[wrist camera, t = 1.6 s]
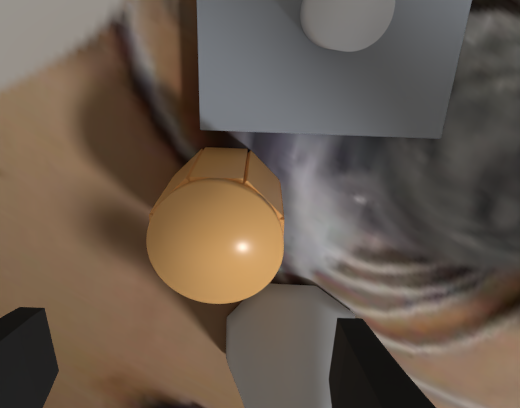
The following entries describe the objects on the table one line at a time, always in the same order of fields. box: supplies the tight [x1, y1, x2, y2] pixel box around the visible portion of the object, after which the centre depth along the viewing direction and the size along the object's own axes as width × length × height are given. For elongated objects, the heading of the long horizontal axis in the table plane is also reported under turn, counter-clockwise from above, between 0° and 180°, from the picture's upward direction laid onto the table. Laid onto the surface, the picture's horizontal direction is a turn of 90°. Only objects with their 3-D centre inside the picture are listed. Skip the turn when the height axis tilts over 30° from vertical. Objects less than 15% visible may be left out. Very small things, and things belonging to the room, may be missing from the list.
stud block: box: [197, 0, 472, 139], centre depth 13 cm, size 10×9×4 cm
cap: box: [146, 147, 284, 304], centre depth 16 cm, size 5×5×5 cm
